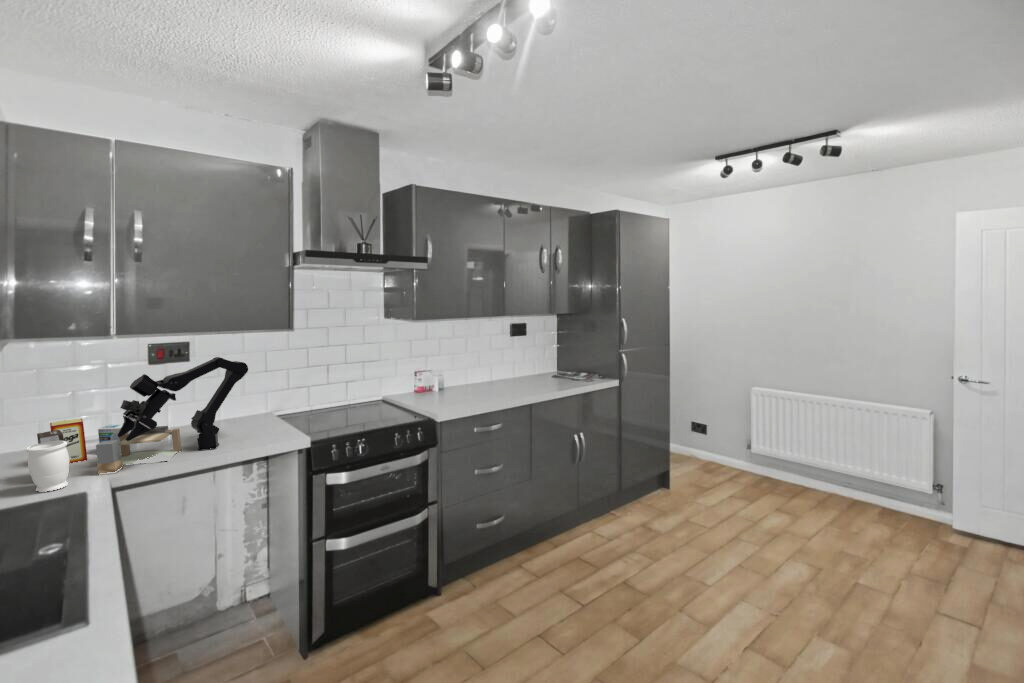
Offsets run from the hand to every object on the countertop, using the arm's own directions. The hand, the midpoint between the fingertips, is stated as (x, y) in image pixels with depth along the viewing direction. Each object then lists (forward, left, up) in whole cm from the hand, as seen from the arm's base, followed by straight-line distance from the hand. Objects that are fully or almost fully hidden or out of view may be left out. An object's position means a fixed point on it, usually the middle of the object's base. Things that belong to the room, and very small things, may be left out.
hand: (122, 438), depth 193 cm
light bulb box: (+12, -24, -12) cm, 29 cm away
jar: (+16, +15, -11) cm, 24 cm away
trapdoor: (-3, -12, -4) cm, 13 cm away
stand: (-3, -10, -11) cm, 16 cm away
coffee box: (+21, +3, -12) cm, 24 cm away
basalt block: (+4, +3, -7) cm, 9 cm away
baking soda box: (+25, -16, -12) cm, 32 cm away
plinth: (+4, +3, -11) cm, 12 cm away
